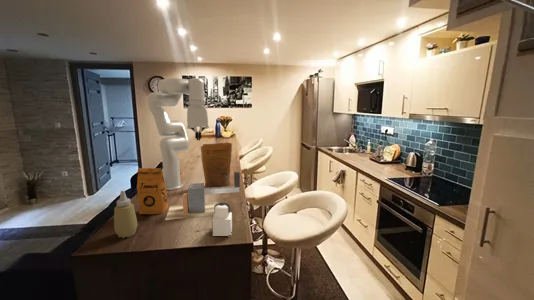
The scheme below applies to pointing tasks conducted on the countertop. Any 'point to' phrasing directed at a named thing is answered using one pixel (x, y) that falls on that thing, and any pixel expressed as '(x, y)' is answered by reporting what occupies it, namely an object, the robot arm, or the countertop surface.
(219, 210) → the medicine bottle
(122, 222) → the squeeze bottle
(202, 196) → the metal block
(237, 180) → the l-shaped metal bar
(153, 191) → the coffee package
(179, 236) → the countertop surface
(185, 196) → the collar
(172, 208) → the board
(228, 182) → the pancake mix bag
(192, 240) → the countertop surface
